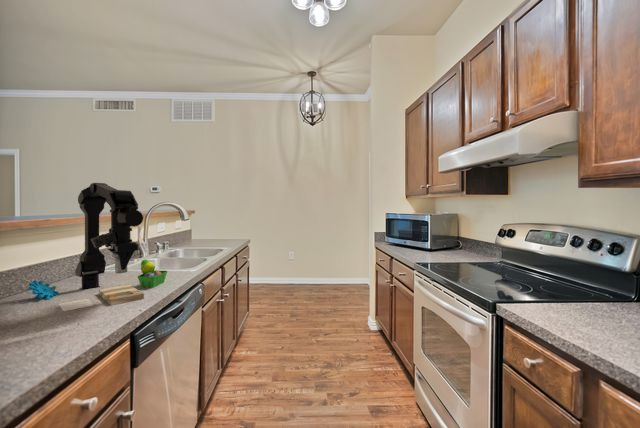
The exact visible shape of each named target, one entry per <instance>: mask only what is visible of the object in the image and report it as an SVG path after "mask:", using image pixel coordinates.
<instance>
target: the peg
mask: <svg viewBox="0 0 640 428" xmlns="http://www.w3.org/2000/svg"><path fill="white" fill-rule="evenodd" d="M111 253H112V252H111ZM111 255H112V257H113V258H114V263H115V264H114V265H115V267H114V269H115V271H114V272H115V274H124V273H128V266H127V267H126V269H125V270H121V266H120V261H119V256H118V255H117V254H116V253H112V254H111Z"/></svg>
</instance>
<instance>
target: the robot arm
mask: <svg viewBox="0 0 640 428" xmlns="http://www.w3.org/2000/svg"><path fill="white" fill-rule="evenodd" d="M77 202H78V204H79V209H80V211H82V212H83V214H84V251H83V252H82V253H81V254H80V256H79V261H78V263H77V265H76V267H75V271H74V272H75V276H76V277H79V278H81V287H79V291H85V290H92V289H97V288H99V289H100V288H101V286H100V274H104V273H105V271H106V266H107V265H106V264H107V262H106V260H105V259H106V257H105V255H104V254H103V253H102V251H101V250H100V248H102V247H103V246H104V247H105V248H107V250H108V251H110V253H116V254H117V255H118V256H119V261H120V266H121V270H125V269H126V267H127V268H128V264H129V263H130V262H131V261H130V260H131V258H132V256H133V255H134V253H135V252H136V251H139V244H138V243H136V242H135V241H133V239H131V232H133V228H134V227H138V226H140V225H141V224H142V223H143V221H144V215H143V213H142V212H141V211H139V204H138V202H137V200H136V197H135V196H134V194H133V192H132V190H126V189H125V190H124V189H123V190H122V189H117V188H115V187H112V186H110V185H109V184H107V183H105V182H91V183H90V185H89V186H88V187H85V188H84V189H82V190H81V191H80V193H79V194H78V196H77ZM105 204H108V206H109V208H110V210H109V213H110V228H109V229H108V232H106V233H102V234H100V214H101V213H102V211H103V210H104V209H105ZM132 227H133V228H132Z"/></svg>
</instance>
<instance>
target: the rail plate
mask: <svg viewBox="0 0 640 428" xmlns="http://www.w3.org/2000/svg"><path fill="white" fill-rule="evenodd" d="M98 295H99V296H100V297H102V298H103V300H104V301H106V302H107V303H108V304H109V305H111V306H114V305H120V304H123V303H124V304H125V303H129V302H135V301H139V300H144V299H145V294H144V292H142V291H140V290H139V289H137V288H136V287H134V286H132V285H131V284H123V285H117V286H112V287H106V288H105V287H104V288H99V289H98Z"/></svg>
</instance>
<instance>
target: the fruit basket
mask: <svg viewBox="0 0 640 428" xmlns="http://www.w3.org/2000/svg"><path fill="white" fill-rule="evenodd" d="M155 269H156V265H155V264H154V263H153V262H151V261H150V260H149V259H142V260H141V263H140V270H141V271H140V272H141V273H142V274H139V275H138V276H136V277H137V279H138V281H139V284H140V286H141V288H156V287H157V286H159V284H160V285H161V284H164V283H165V280H166V277H167V274H168V270H157V269H156V270H155ZM163 282H164V283H163Z"/></svg>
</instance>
